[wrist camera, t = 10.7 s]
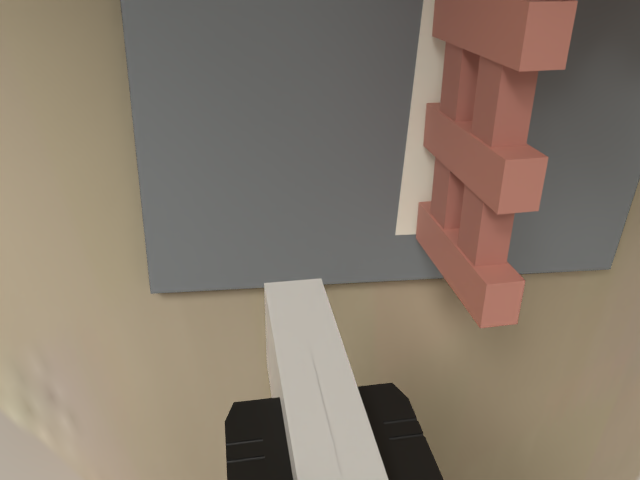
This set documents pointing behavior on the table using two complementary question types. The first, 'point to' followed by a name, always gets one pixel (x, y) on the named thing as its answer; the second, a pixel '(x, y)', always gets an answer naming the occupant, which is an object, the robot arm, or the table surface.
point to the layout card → (352, 140)
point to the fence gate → (487, 143)
